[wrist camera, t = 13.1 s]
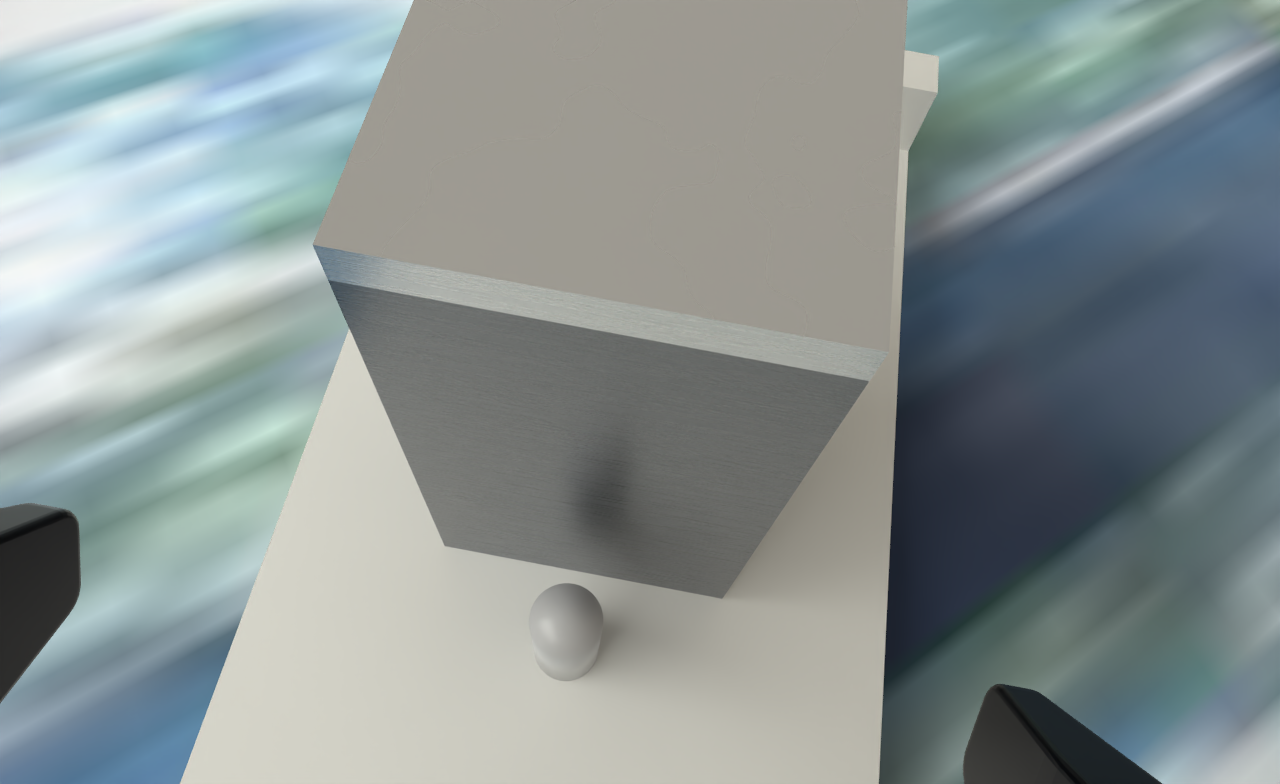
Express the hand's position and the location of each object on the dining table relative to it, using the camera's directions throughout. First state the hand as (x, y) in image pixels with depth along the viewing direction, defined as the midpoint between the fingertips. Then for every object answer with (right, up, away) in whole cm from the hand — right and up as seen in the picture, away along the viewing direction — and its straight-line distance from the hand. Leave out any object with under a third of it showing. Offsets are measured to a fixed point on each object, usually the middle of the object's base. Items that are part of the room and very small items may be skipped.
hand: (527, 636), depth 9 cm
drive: (0, +1, +10) cm, 10 cm away
